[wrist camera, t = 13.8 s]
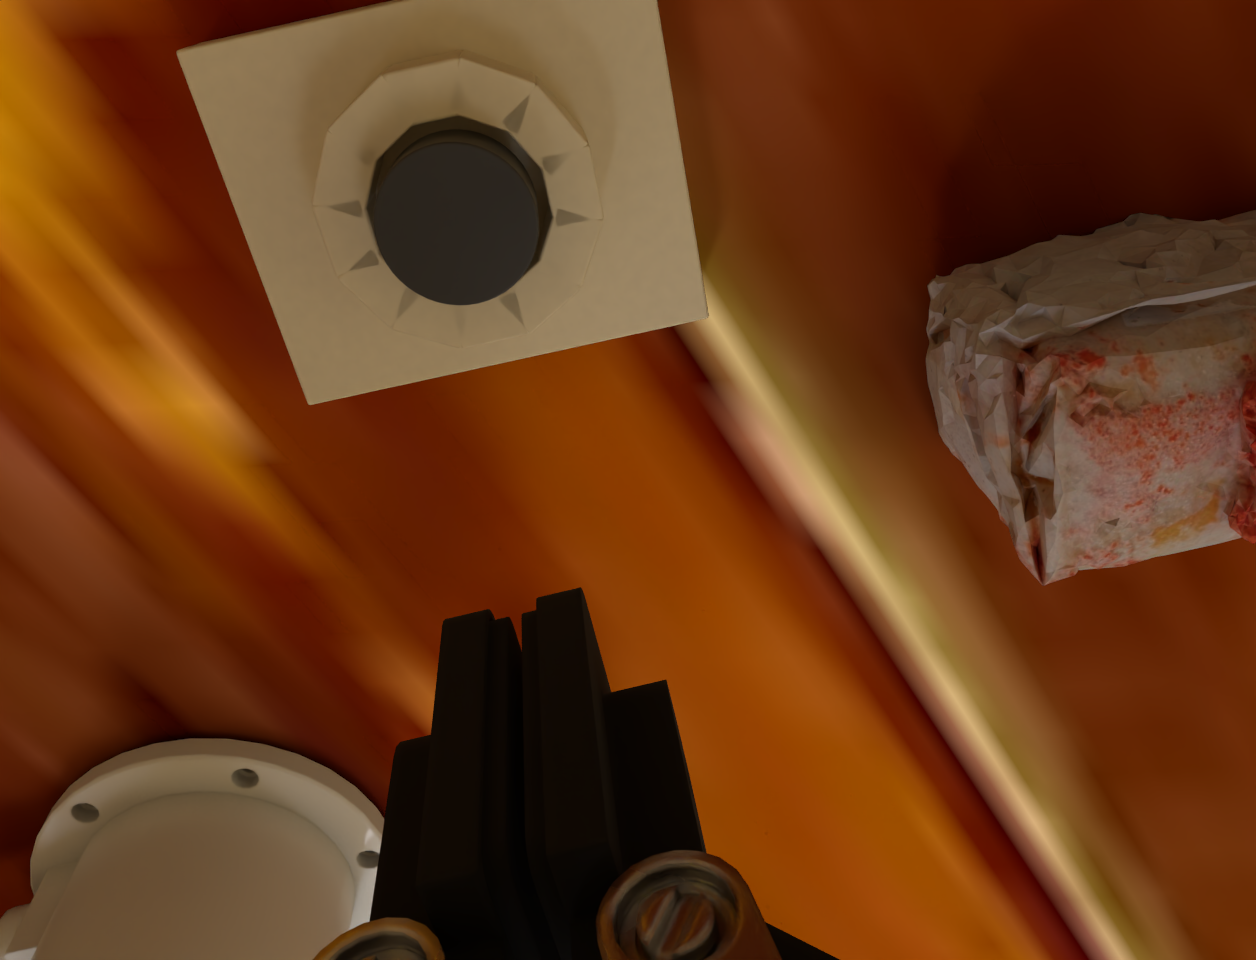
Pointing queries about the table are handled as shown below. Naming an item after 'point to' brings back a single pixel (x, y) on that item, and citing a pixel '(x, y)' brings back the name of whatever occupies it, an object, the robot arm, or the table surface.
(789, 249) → the table surface
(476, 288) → the stop button
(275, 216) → the control block
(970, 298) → the food item
